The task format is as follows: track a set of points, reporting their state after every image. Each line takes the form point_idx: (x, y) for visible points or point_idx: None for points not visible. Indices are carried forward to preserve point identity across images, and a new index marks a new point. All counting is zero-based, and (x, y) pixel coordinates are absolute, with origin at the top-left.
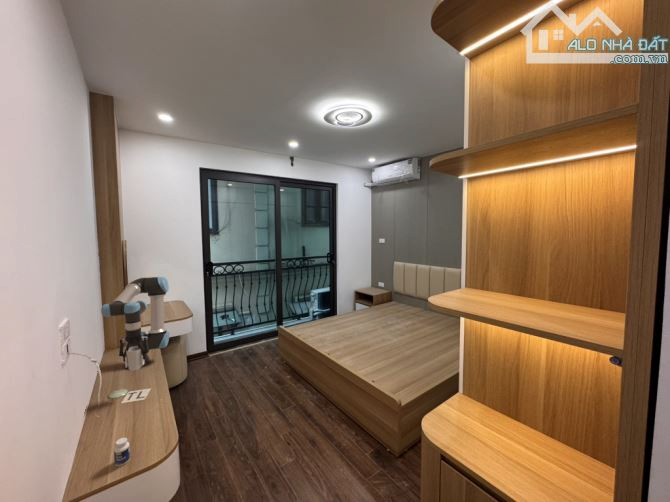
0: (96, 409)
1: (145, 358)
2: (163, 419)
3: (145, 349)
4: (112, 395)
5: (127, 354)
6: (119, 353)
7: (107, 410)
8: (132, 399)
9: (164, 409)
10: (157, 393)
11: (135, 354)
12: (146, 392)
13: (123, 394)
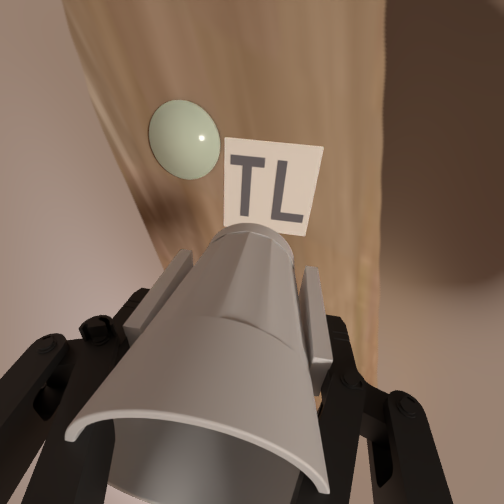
0: (156, 230)
1: (338, 323)
2: (361, 353)
3: (377, 498)
4: (167, 155)
5: (154, 431)
6: (35, 407)
7: (196, 251)
8: (258, 216)
9: (368, 318)
10: (352, 211)
11: (248, 449)
12: (306, 182)
13: (211, 166)
